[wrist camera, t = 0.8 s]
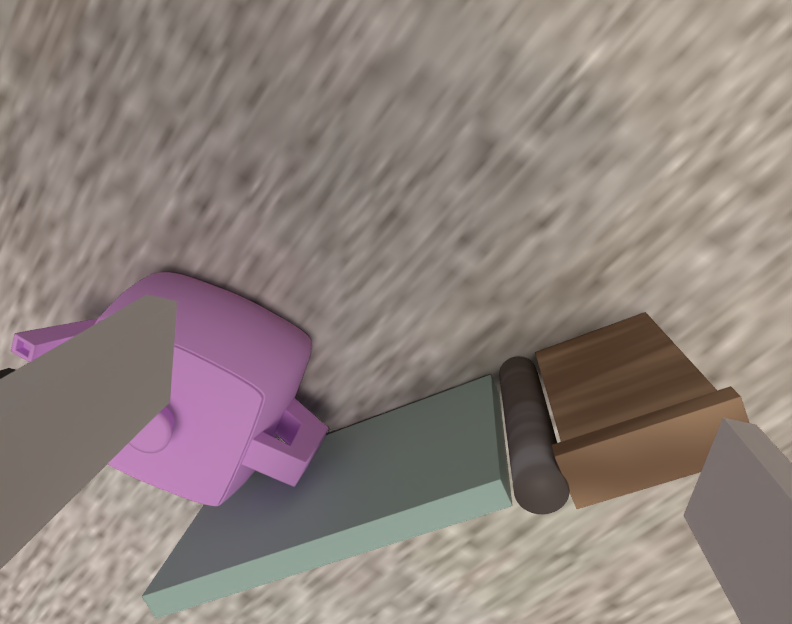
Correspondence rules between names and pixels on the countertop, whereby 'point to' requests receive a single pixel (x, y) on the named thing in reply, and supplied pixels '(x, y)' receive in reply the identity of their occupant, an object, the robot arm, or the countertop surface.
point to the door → (347, 499)
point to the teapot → (214, 393)
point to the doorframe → (609, 416)
